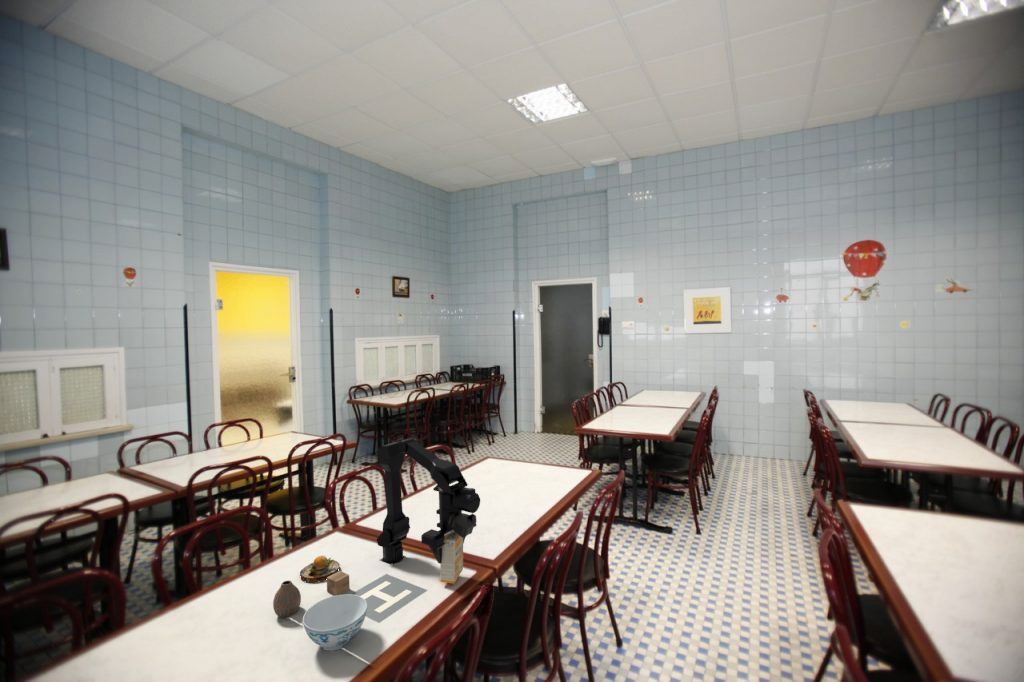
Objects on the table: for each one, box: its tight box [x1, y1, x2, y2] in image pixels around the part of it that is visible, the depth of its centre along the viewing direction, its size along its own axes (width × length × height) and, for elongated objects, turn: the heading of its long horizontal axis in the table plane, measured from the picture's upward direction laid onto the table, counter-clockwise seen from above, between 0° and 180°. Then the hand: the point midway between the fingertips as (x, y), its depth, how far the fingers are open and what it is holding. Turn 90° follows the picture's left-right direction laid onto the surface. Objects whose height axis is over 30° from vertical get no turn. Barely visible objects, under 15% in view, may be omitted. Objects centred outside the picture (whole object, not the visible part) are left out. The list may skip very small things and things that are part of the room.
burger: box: [299, 555, 340, 583], centre depth 150 cm, size 12×12×8 cm
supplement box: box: [439, 531, 464, 584], centre depth 142 cm, size 8×5×13 cm, turn 168°
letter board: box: [351, 573, 428, 624], centre depth 135 cm, size 18×18×1 cm
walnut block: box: [326, 570, 350, 596], centre depth 138 cm, size 4×4×5 cm
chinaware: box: [302, 593, 367, 652], centre depth 116 cm, size 15×15×8 cm
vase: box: [272, 580, 302, 619], centre depth 128 cm, size 7×7×9 cm
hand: (450, 556), depth 142 cm, fingers closed on supplement box, 9 cm apart
